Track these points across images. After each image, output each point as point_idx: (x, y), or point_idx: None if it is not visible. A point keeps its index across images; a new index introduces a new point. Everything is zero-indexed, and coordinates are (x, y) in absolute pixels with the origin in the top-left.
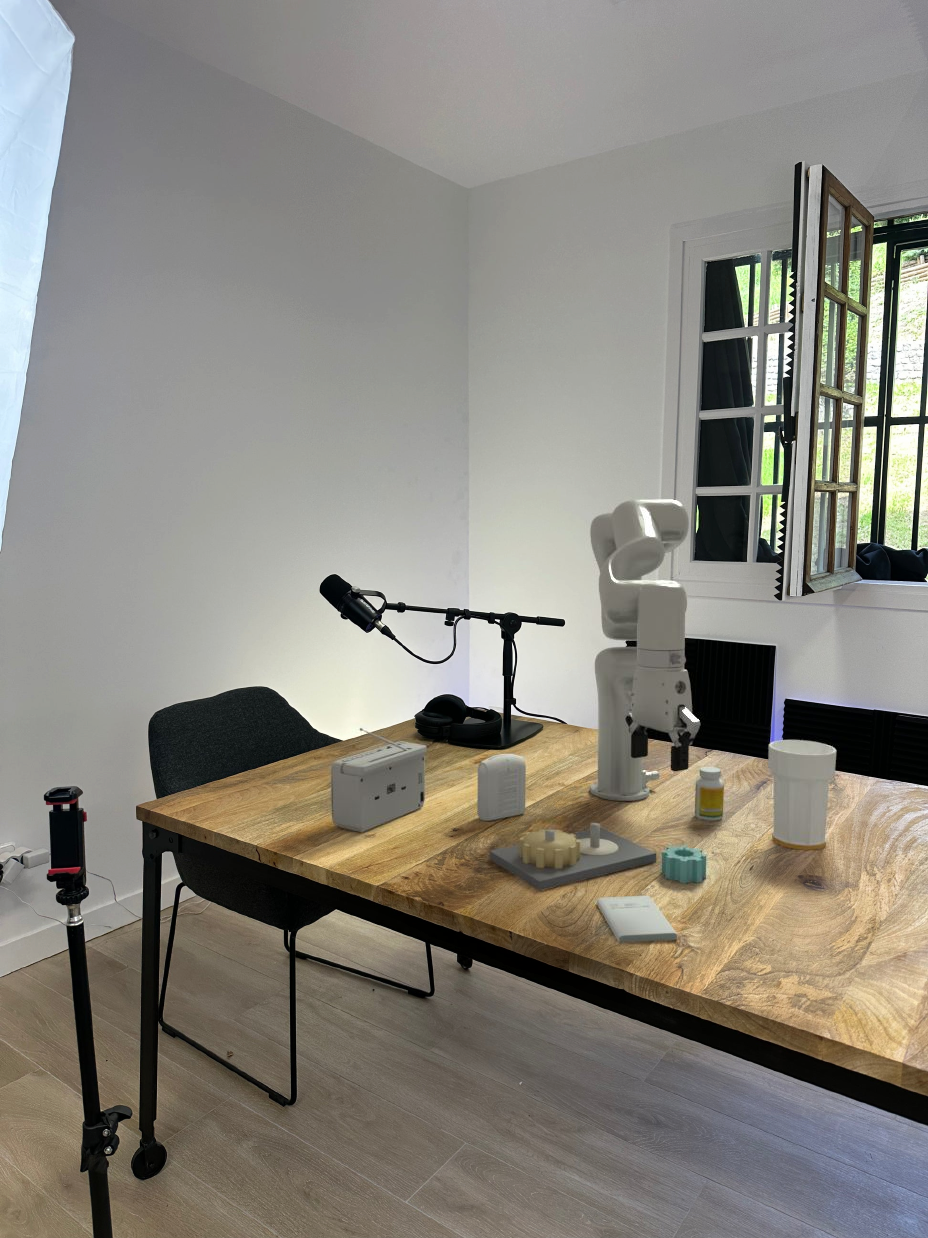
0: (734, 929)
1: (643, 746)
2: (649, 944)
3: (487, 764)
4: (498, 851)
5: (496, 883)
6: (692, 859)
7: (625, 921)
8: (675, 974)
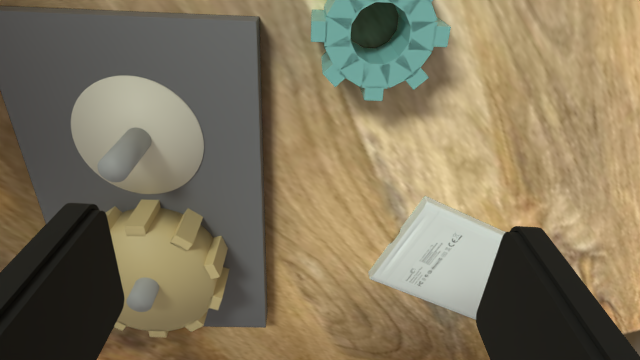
0: (622, 150)
1: (73, 295)
2: None
3: None
4: None
5: (203, 345)
6: (430, 51)
7: (470, 297)
8: None
